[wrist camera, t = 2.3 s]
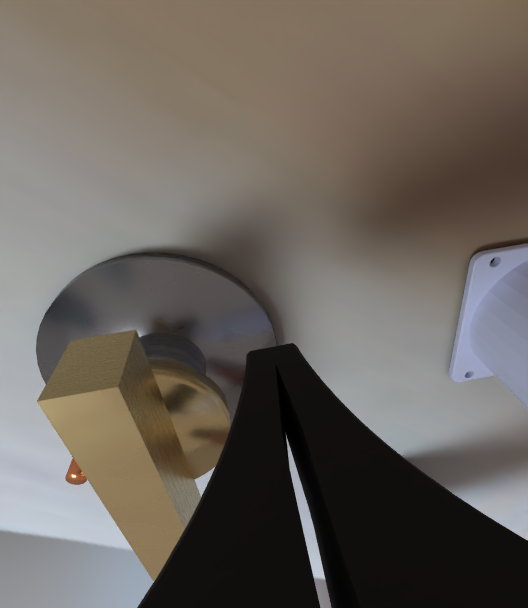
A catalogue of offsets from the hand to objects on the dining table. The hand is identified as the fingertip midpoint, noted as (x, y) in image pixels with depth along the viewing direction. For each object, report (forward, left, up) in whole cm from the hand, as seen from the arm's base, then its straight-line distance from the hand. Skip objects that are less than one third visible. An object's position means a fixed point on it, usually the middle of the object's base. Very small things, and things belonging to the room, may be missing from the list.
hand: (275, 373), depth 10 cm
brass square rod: (+5, +4, -3) cm, 7 cm away
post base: (+5, +4, -7) cm, 9 cm away
